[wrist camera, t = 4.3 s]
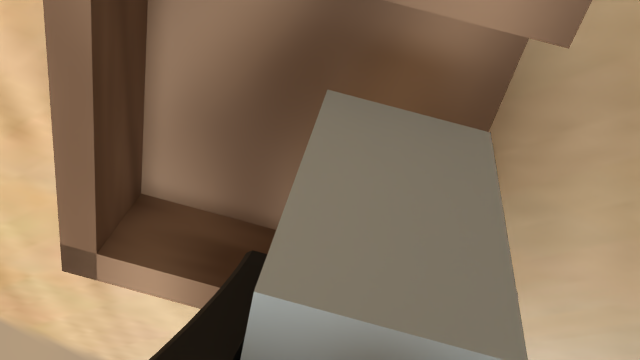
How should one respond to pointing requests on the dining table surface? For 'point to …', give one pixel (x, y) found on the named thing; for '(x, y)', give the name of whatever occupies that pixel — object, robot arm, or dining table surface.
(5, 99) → the dining table surface
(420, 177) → the grey block
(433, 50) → the wooden rimmed tray
